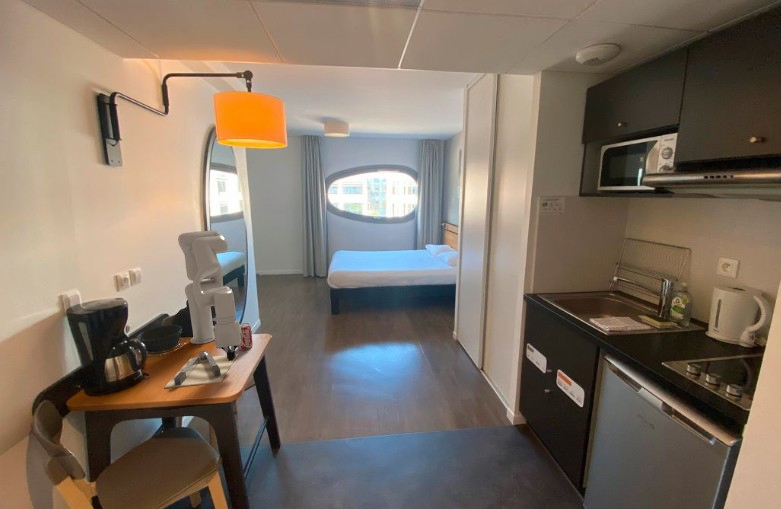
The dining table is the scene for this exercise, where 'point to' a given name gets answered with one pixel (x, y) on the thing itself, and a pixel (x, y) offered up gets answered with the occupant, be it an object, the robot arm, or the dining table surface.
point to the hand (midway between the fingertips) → (231, 359)
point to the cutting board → (204, 372)
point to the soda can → (246, 336)
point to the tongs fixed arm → (186, 371)
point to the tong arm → (210, 362)
